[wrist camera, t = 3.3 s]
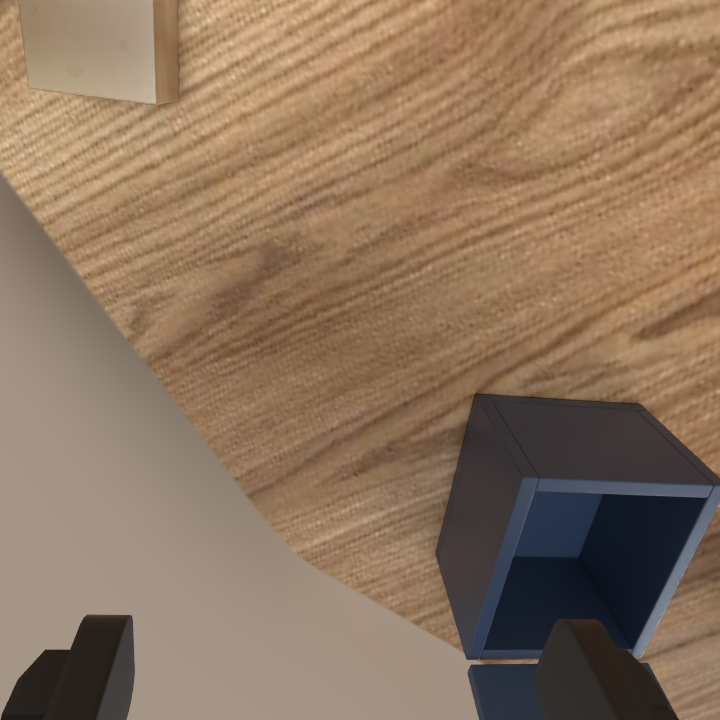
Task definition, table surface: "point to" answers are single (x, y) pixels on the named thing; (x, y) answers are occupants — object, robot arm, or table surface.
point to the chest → (568, 522)
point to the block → (103, 48)
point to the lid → (510, 691)
